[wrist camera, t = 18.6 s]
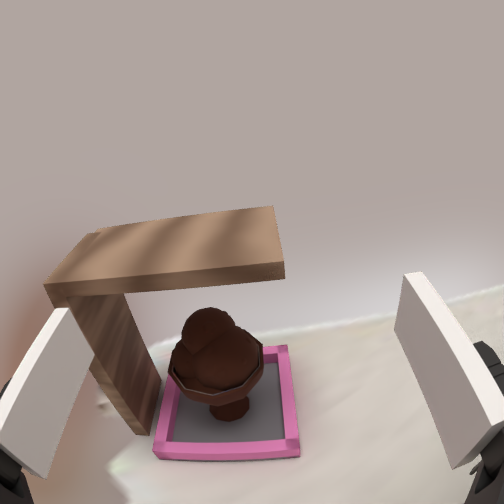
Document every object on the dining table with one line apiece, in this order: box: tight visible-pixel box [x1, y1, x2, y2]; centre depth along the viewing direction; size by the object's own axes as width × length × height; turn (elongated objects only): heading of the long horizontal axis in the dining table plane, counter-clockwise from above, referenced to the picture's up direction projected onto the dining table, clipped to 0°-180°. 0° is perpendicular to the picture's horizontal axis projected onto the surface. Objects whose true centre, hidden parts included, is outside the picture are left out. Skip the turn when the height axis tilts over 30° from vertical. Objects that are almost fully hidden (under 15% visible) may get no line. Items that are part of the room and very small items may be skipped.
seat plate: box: [152, 345, 300, 462], centre depth 38 cm, size 17×17×2 cm
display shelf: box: [43, 206, 285, 436], centre depth 33 cm, size 20×11×24 cm, turn 90°
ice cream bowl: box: [168, 307, 264, 422], centre depth 35 cm, size 11×11×15 cm
